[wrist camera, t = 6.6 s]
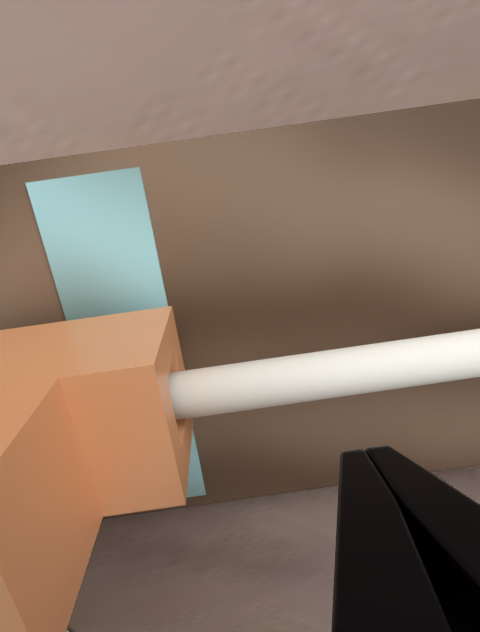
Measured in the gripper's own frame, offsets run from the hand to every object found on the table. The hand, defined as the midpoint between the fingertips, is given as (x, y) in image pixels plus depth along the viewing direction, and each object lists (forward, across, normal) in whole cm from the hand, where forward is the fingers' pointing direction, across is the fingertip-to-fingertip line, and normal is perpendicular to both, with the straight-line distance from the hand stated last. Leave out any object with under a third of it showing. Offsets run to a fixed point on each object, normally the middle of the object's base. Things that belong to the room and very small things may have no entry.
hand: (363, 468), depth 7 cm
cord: (+4, -1, 0) cm, 4 cm away
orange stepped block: (+5, +6, 0) cm, 8 cm away
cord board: (+7, 0, 0) cm, 7 cm away
